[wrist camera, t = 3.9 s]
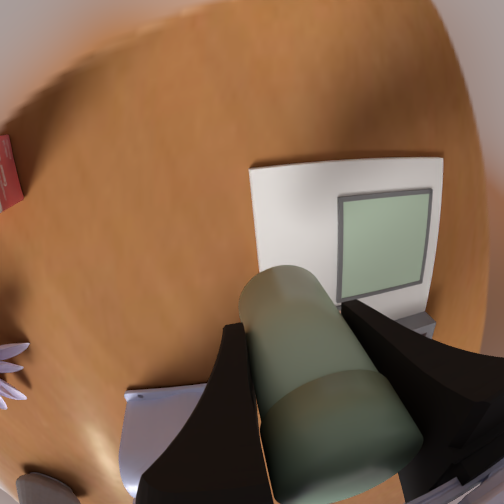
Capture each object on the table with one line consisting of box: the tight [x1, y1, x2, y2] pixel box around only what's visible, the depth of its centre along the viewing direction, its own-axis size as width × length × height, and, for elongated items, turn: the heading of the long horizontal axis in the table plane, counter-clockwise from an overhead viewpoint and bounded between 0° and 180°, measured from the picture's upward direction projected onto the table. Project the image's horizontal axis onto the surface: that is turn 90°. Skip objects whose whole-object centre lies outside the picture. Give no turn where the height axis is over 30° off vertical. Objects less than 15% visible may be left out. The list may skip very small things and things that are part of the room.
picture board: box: [249, 157, 443, 339], centre depth 21 cm, size 14×20×2 cm
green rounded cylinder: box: [238, 265, 423, 504], centre depth 9 cm, size 4×4×8 cm
